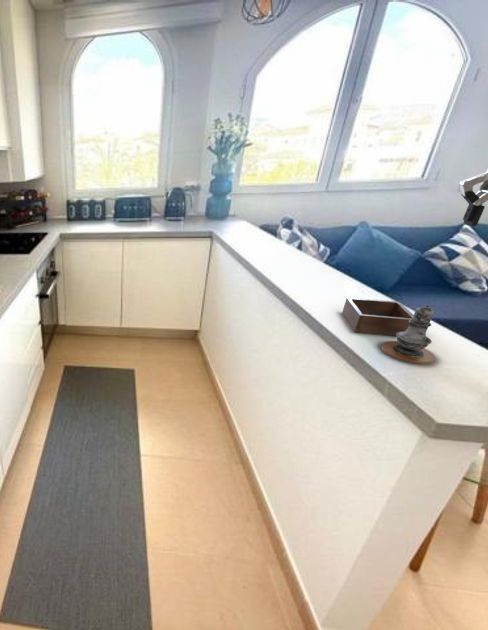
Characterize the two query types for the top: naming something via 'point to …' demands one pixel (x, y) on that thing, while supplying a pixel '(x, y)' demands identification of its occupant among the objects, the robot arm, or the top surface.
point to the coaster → (425, 359)
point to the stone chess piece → (415, 334)
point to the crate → (376, 316)
